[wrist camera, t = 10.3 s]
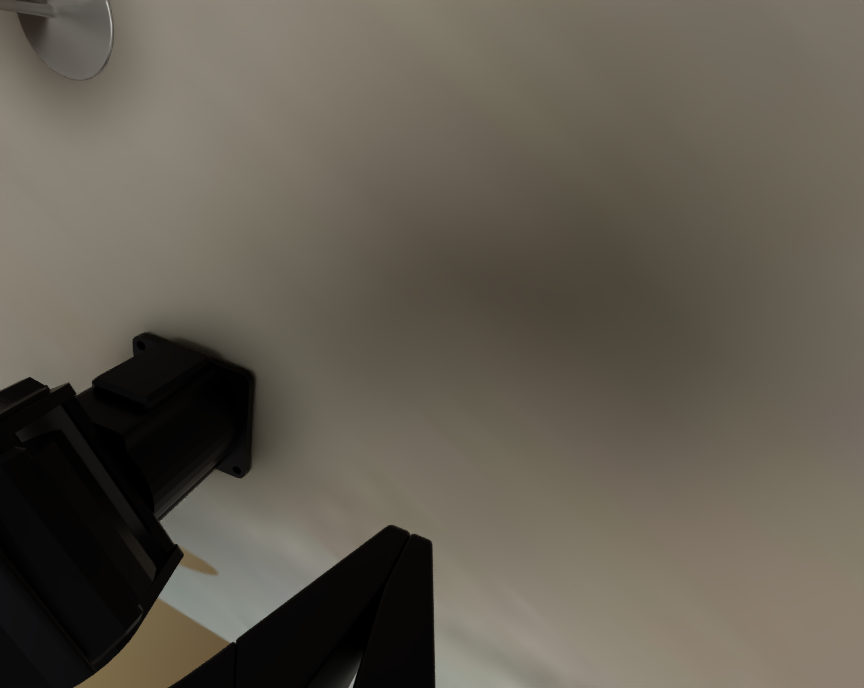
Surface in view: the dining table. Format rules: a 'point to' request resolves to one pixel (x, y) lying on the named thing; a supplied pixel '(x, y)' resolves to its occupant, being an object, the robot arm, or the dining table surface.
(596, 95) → the dining table surface
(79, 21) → the goblet set
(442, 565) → the dining table surface
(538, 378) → the dining table surface
